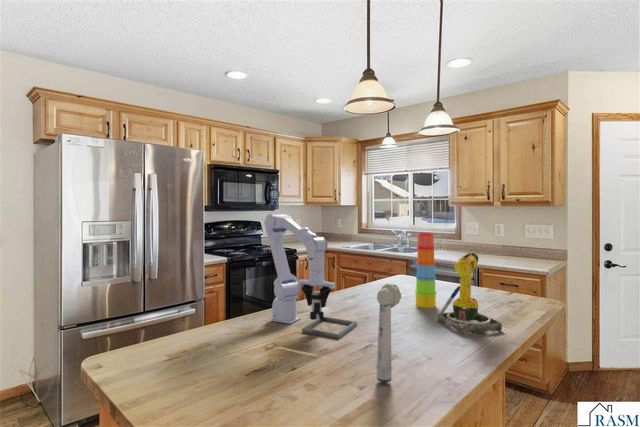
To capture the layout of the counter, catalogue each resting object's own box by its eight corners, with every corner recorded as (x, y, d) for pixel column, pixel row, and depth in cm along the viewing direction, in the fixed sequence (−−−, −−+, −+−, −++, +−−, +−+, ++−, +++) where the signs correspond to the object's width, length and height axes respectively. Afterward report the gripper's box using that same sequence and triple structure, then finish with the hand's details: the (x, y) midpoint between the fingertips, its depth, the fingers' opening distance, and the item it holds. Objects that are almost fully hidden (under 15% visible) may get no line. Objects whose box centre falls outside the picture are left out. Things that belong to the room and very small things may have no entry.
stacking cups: (441, 308, 166) (441, 233, 165) (427, 311, 160) (427, 234, 160) (424, 303, 174) (424, 232, 174) (409, 306, 168) (409, 232, 168)
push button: (308, 321, 130) (309, 293, 130) (304, 318, 135) (304, 291, 135) (325, 320, 132) (326, 292, 133) (320, 317, 137) (321, 290, 138)
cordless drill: (507, 331, 133) (506, 256, 133) (462, 335, 129) (461, 258, 129) (474, 317, 151) (474, 252, 151) (434, 321, 146) (433, 253, 147)
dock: (302, 332, 133) (302, 328, 132) (323, 320, 148) (323, 316, 148) (338, 339, 126) (338, 334, 126) (357, 325, 141) (357, 321, 141)
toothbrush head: (371, 378, 96) (371, 285, 96) (386, 370, 101) (386, 281, 101) (387, 385, 92) (387, 288, 92) (402, 376, 97) (402, 284, 97)
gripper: (294, 269, 134) (294, 306, 134) (329, 272, 127) (329, 311, 127) (304, 267, 140) (304, 301, 140) (337, 269, 133) (337, 306, 133)
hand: (316, 305), depth 134 cm, fingers closed on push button, 5 cm apart
